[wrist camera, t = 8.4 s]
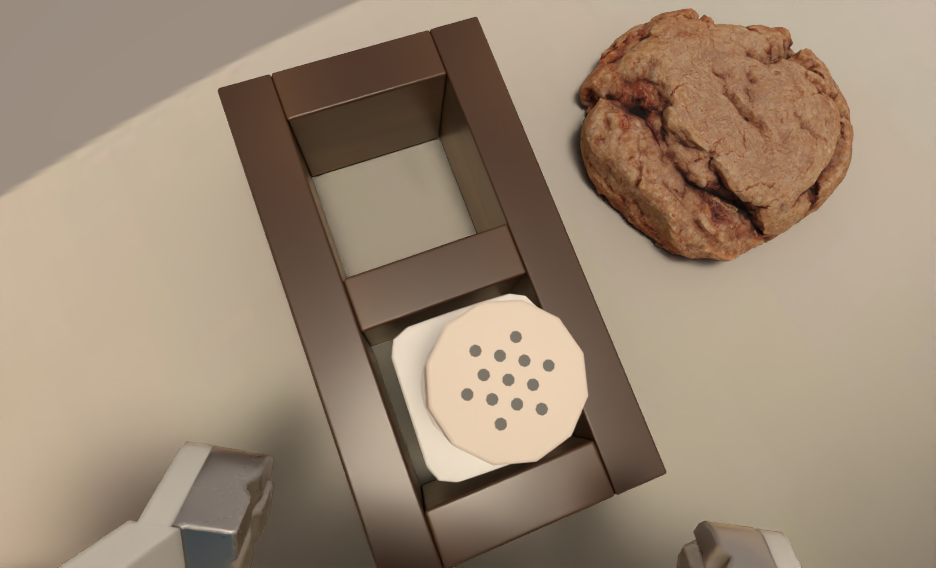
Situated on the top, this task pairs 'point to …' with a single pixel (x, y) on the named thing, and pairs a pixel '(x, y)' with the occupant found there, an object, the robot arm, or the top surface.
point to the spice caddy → (429, 284)
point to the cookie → (713, 133)
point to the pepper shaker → (490, 385)
